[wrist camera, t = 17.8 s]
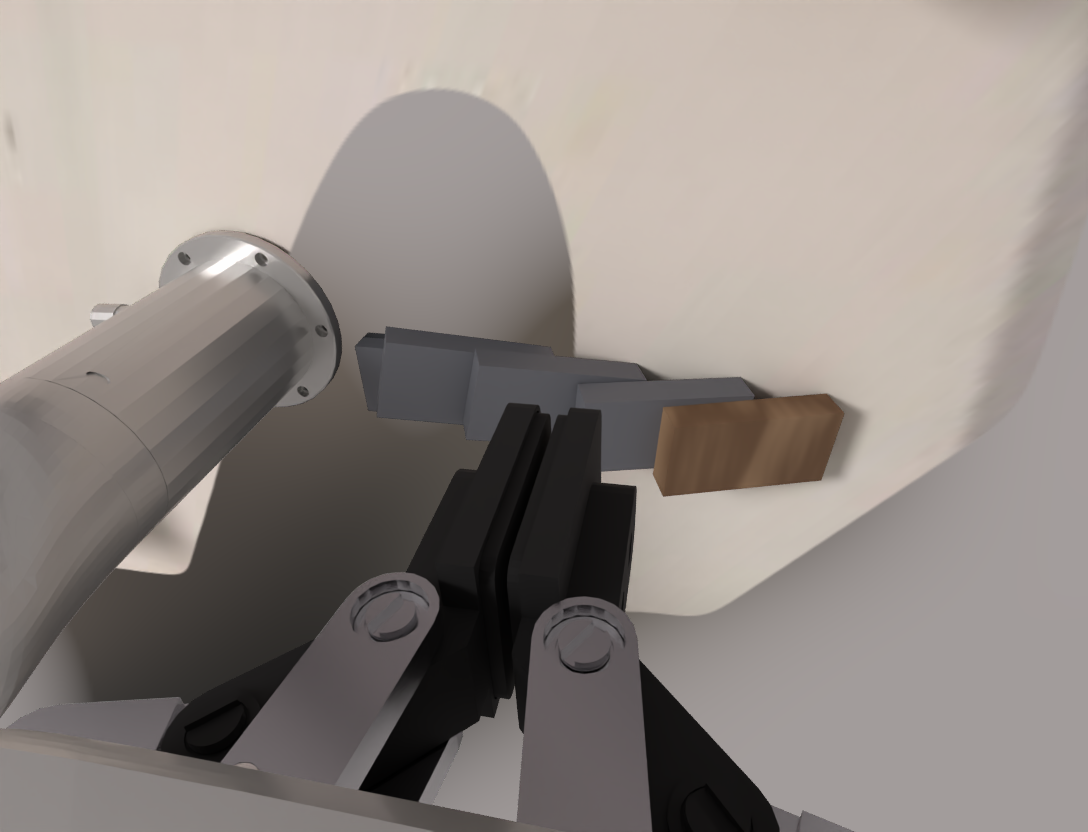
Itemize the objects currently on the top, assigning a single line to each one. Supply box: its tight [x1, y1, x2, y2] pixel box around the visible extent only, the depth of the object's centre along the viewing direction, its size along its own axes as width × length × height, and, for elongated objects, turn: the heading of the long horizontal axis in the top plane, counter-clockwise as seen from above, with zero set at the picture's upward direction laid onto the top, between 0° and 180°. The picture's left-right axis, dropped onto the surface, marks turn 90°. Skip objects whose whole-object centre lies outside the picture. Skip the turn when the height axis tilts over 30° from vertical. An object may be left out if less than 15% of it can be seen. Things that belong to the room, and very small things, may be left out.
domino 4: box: [575, 377, 754, 472], centre depth 40 cm, size 2×5×10 cm
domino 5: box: [653, 394, 844, 497], centre depth 39 cm, size 2×5×10 cm
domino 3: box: [463, 348, 647, 441], centre depth 40 cm, size 2×5×10 cm
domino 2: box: [377, 327, 554, 425], centre depth 41 cm, size 2×5×10 cm
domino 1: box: [355, 332, 385, 412], centre depth 44 cm, size 2×5×10 cm
